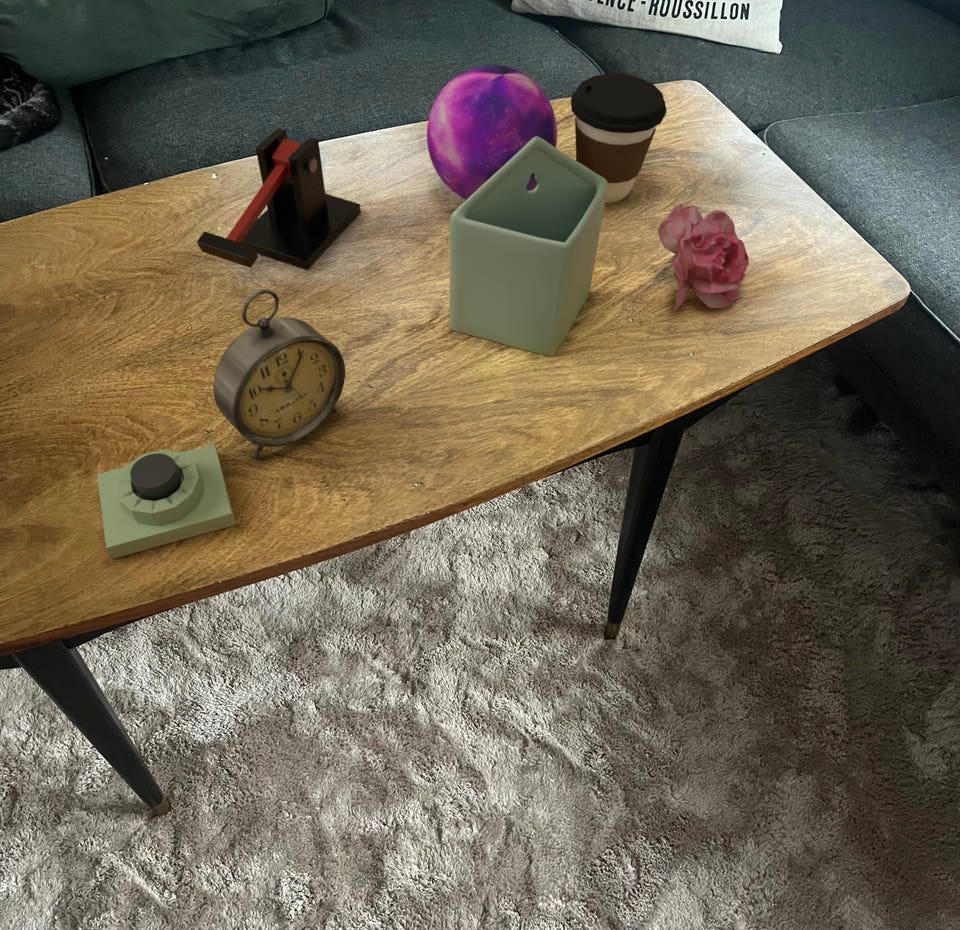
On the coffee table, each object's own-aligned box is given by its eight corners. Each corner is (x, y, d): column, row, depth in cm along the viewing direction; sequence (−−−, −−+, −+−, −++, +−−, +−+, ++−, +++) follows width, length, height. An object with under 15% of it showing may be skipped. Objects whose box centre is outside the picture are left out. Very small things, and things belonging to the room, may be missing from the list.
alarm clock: (253, 476, 73) (212, 340, 61) (222, 440, 76) (176, 302, 63) (354, 417, 78) (336, 280, 65) (321, 385, 80) (298, 247, 68)
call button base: (112, 559, 68) (98, 535, 65) (103, 485, 72) (89, 460, 69) (236, 524, 70) (227, 500, 67) (219, 455, 75) (210, 430, 72)
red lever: (252, 271, 84) (244, 255, 82) (203, 254, 86) (194, 239, 83) (322, 164, 90) (317, 147, 87) (275, 150, 91) (268, 133, 89)
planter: (477, 377, 82) (485, 203, 66) (448, 326, 86) (448, 152, 71) (622, 336, 86) (661, 164, 71) (587, 290, 91) (616, 118, 75)
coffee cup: (553, 206, 100) (564, 111, 91) (567, 158, 107) (579, 65, 98) (643, 220, 99) (664, 125, 90) (652, 171, 106) (672, 78, 96)
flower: (741, 311, 94) (780, 288, 84) (657, 327, 93) (686, 305, 83) (720, 214, 95) (756, 179, 85) (636, 229, 94) (663, 195, 84)
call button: (139, 505, 67) (132, 492, 66) (133, 472, 69) (127, 459, 68) (184, 493, 68) (179, 480, 67) (177, 461, 70) (172, 448, 69)
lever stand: (307, 270, 91) (292, 183, 83) (238, 247, 93) (217, 160, 85) (360, 212, 98) (352, 126, 90) (295, 192, 100) (281, 107, 92)
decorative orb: (526, 243, 95) (537, 120, 84) (407, 212, 99) (402, 88, 87) (566, 176, 104) (581, 56, 93) (456, 149, 107) (457, 30, 96)
